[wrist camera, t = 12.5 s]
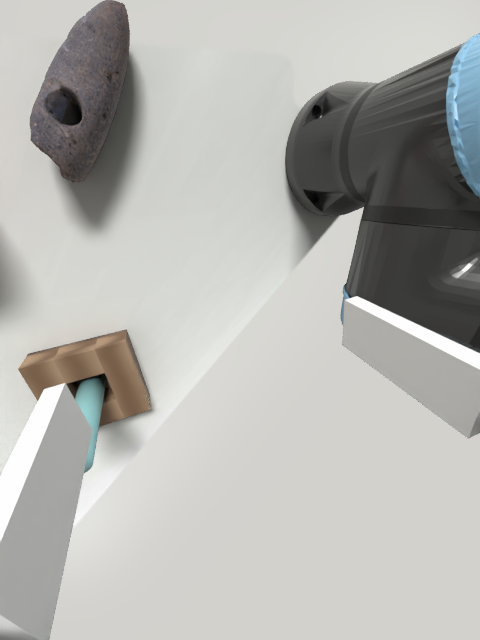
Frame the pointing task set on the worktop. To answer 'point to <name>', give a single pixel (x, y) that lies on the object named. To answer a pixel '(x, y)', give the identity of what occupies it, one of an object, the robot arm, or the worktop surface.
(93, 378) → the pin
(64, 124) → the perforated stone tool
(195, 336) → the worktop surface
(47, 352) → the board
